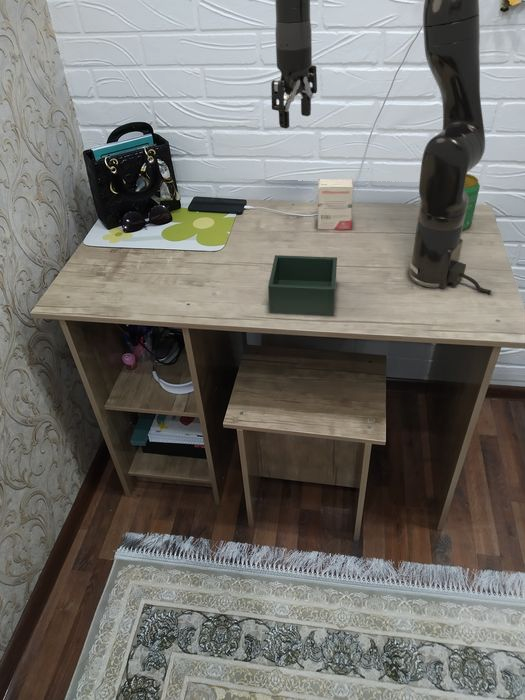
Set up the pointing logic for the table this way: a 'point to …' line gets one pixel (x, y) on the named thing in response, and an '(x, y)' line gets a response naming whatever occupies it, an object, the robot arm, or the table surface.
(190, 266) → the table surface
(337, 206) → the ink box
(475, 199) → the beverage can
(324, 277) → the bin
